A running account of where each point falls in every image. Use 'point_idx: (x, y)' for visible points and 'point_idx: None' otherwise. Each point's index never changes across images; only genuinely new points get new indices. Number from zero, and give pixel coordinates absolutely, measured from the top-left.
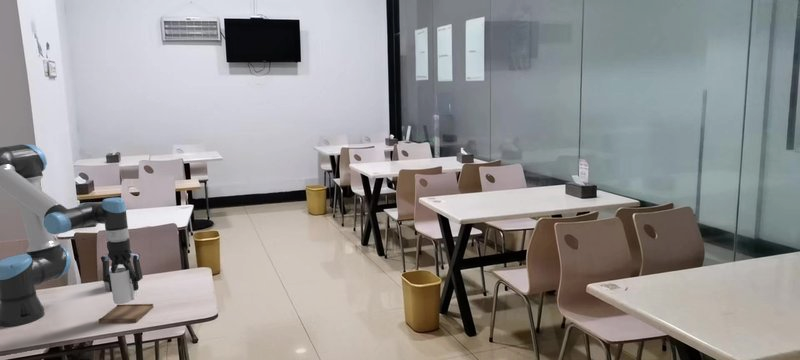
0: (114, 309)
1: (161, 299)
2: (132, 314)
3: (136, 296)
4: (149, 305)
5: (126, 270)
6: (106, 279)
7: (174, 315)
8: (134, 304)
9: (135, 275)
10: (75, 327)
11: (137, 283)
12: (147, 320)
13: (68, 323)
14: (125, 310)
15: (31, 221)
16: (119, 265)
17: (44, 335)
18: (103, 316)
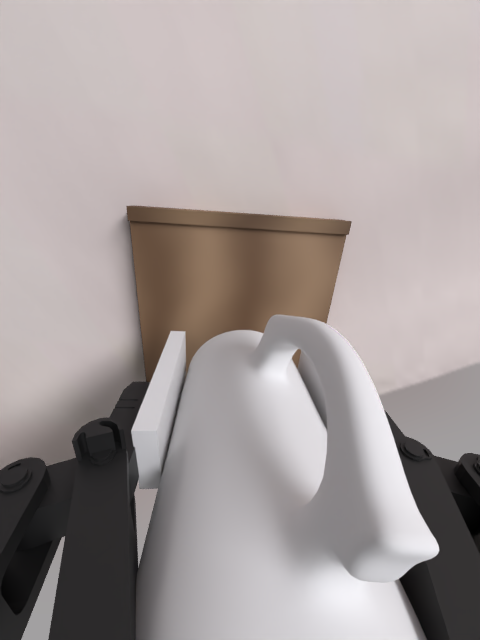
0: (148, 274)
1: (368, 57)
2: None
3: None
4: (331, 233)
5: (356, 629)
6: (56, 545)
7: (448, 329)
8: (239, 217)
9: (449, 525)
10: (76, 409)
11: (394, 435)
12: None
13: (7, 375)
14: (220, 295)
15: None
16: None
17: (9, 458)
18: (145, 357)
